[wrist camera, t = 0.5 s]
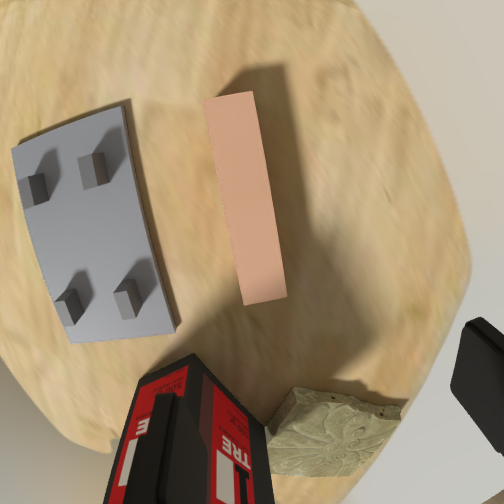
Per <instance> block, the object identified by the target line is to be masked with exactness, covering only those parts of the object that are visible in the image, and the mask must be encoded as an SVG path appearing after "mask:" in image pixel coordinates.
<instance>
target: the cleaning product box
mask: <svg viewBox="0 0 504 504" xmlns="http://www.w3.org/2000/svg"><path fill="white" fill-rule="evenodd" d="M169 392H176V393H177V395H178V396H183V397H184V399H185V402H186V404H187V406H188V409H189V411H190V413H191V415H192V417H193V420H194V422H195V424H196V426H197V428H198V431H199V433H200V435H201V437H202V439H203V441H204V443H205V445H206V448H207V452H208V467H207V497H206V504H275V502H274V494H273V487H272V480H271V472H270V465H269V457H268V450H267V442H266V435H265V427H264V426H263V425H262V424H261V423H259V422H258V421H257V420H256V419H255V418H254V417H253V416H252V415H251V414H250V413H249V412H248V411H247V410H246V409H245V408H244V407H243V405H242V404H241V403H240V402H239V401H238V400H237V399H236V398H235V397H234V396H233V395H232V394H231V393H230V392H229V391H228V390H227V389H226V388H225V387H224V386H223V385H222V383H221V382H220V381H219V380H218V379H217V378H216V377H215V376H214V375H213V374H212V373H211V372H210V370H209V369H208V368H207V367H206V366H205V365H204V364H203V363H202V362H201V360H200V359H199V358H198V357H197V356H196V355H195V354H194V353H193V354H191V355H189V356H187V357H185V358H183V359H181V360H179V361H177V362H175V363H173V364H171V365H169V366H167V367H165V368H162V369H160V370H158V371H156V372H154V373H152V374H150V375H148V376H146V377H144V378H142V379H140V380H139V382H138V385H137V388H136V391H135V394H134V397H133V400H132V403H131V406H130V409H129V413H128V416H127V419H126V422H125V426H124V429H123V432H122V436H121V439H120V442H119V446H118V449H117V453H116V456H115V460H114V464H113V467H112V470H111V474H110V478H109V482H108V485H107V489H106V493H105V497H104V501H103V504H122V503H123V498H124V494H125V489H126V485H127V481H128V476H129V472H130V468H131V464H132V460H133V456H134V452H135V448H136V444H137V440H138V438H139V436H140V435H141V434H146V433H147V429H148V425H149V421H150V417H151V413H152V409H153V405H154V401H155V397H156V395H157V394H158V393H169Z"/></svg>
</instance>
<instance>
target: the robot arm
mask: <svg viewBox="0 0 504 504" xmlns="http://www.w3.org/2000/svg"><path fill="white" fill-rule="evenodd" d="M450 388H451V391H452V393H453V395H454V396H455V397H456V398H457V400H458V401H459V402H460V404H461V405H462V406H463V407H464V409H465V410H466V411H467V412H468V414H469V415H470V417H471V418H472V419H473V421H474V422H475V423H476V425H477V426H478V427H479V428H480V430H481V431H482V433H483V434H484V435H485V437H486V438H487V439H488V441H489V442H490V443H491V445H492V446H493V447H494V449H495V450H496V451H497V452H498V453H501V454H502V455H503V456H504V335H503V334H502V333H501V332H500V331H498V330H497V329H496V328H495V327H494V326H492V325H491V324H490V323H489V322H487V321H486V320H485V319H484V318H482V317H478V318H475V319H473V320H470V321H468V322H467V323H466V324H465V326H464V328H463V330H462V333H461V339H460V344H459V349H458V354H457V358H456V363H455V368H454V371H453V376H452V380H451V384H450ZM207 467H208V452H207V448H206V445H205V443H204V441H203V439H202V437H201V435H200V433H199V431H198V428H197V426H196V424H195V422H194V420H193V417H192V415H191V413H190V411H189V409H188V406H187V404H186V402H185V399H184V397H183V396H178V395H177V393H176V392H169V393H158V394H157V395H156V397H155V401H154V405H153V409H152V413H151V417H150V421H149V425H148V429H147V433H146V434H141V435H140V436H139V438H138V440H137V444H136V448H135V452H134V456H133V460H132V464H131V468H130V472H129V476H128V481H127V485H126V489H125V494H124V498H123V503H122V504H206V497H207ZM482 504H504V490H502V491H501V492H499V493H498V494H496V495H495V496H493V497H491V498H490V499H488V500H487V501H485V502H484V503H482Z"/></svg>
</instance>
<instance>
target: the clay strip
mask: <svg viewBox="0 0 504 504" xmlns="http://www.w3.org/2000/svg"><path fill="white" fill-rule="evenodd" d="M202 101H203V106H204V111H205V117H206V122H207V127H208V132H209V138H210V143H211V148H212V153H213V158H214V163H215V169H216V174H217V179H218V184H219V189H220V194H221V199H222V204H223V209H224V213H225V218H226V223H227V228H228V233H229V238H230V243H231V247H232V252H233V257H234V262H235V266H236V271H237V276H238V281H239V285H240V290H241V295H242V299H243V304H244V306H245V305H250V304H255V303H261V302H266V301H271V300H276V299H281V298H286V297H287V290H286V284H285V277H284V270H283V264H282V257H281V251H280V245H279V239H278V232H277V226H276V220H275V214H274V208H273V202H272V196H271V190H270V184H269V178H268V173H267V167H266V161H265V156H264V150H263V144H262V139H261V133H260V128H259V123H258V117H257V112H256V107H255V101H254V96H253V91H248V92H242V93H236V94H230V95H224V96H219V97H214V98H209V99H204V100H202Z"/></svg>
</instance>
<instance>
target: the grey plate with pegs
mask: <svg viewBox="0 0 504 504" xmlns="http://www.w3.org/2000/svg"><path fill="white" fill-rule="evenodd" d="M11 151H12V157H13V163H14V169H15V175H16V180H17V185H18V189H19V194H20V198H21V203H22V207H23V211H24V215H25V219H26V223H27V226H28V230H29V234H30V237H31V241H32V244H33V247H34V250H35V254H36V257H37V260H38V263H39V266H40V269H41V272H42V275H43V277H44V280H45V283H46V286H47V288H48V291H49V294H50V296H51V299H52V301H53V304H54V306H55V309H56V311H57V314H58V316H59V319H60V321H61V323H62V325H63V328H64V330H65V332H66V334H67V337H68V339H69V341H70V343H71V344H78V343H90V342H101V341H111V340H121V339H130V338H139V337H148V336H156V335H164V334H172V333H175V332H176V325H175V322H174V319H173V316H172V312H171V309H170V306H169V303H168V299H167V296H166V292H165V289H164V286H163V282H162V279H161V275H160V272H159V268H158V264H157V261H156V257H155V253H154V249H153V245H152V242H151V238H150V234H149V230H148V226H147V221H146V217H145V213H144V209H143V204H142V200H141V195H140V191H139V186H138V182H137V177H136V172H135V167H134V162H133V157H132V152H131V146H130V141H129V135H128V129H127V123H126V117H125V111H124V107H122V106H119V107H115V108H112V109H109V110H106V111H103V112H100V113H97V114H94V115H91V116H88V117H86V118H83V119H80V120H77V121H75V122H72V123H69V124H67V125H64V126H62V127H59V128H57V129H54V130H52V131H49V132H47V133H45V134H42V135H40V136H38V137H35V138H33V139H31V140H29V141H26V142H24V143H22V144H20V145H18V146H16V147H14V148H12V149H11Z"/></svg>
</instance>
